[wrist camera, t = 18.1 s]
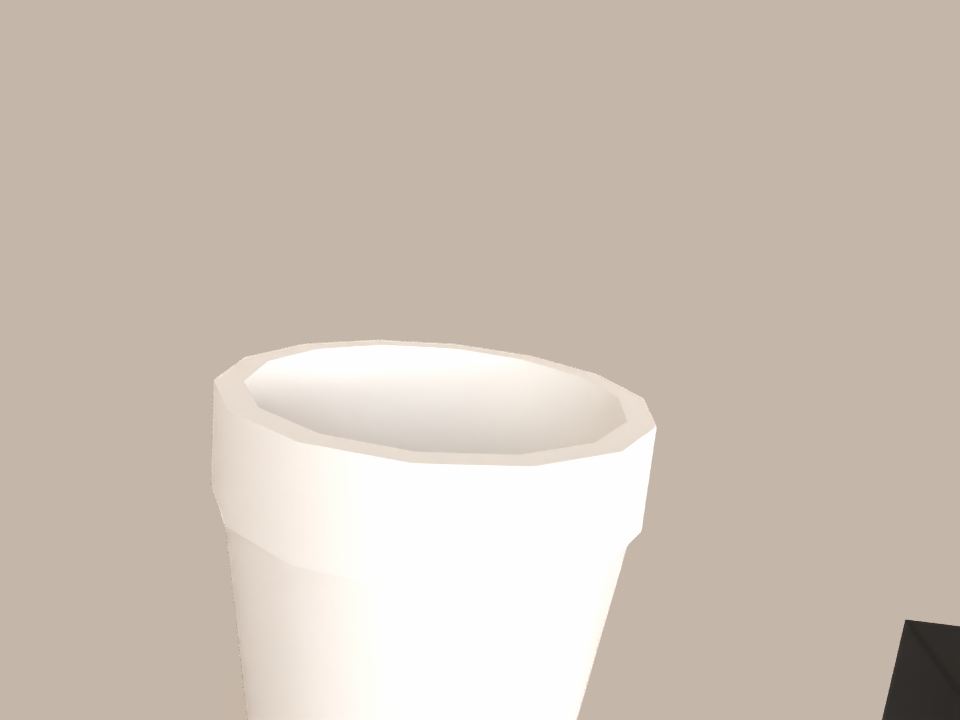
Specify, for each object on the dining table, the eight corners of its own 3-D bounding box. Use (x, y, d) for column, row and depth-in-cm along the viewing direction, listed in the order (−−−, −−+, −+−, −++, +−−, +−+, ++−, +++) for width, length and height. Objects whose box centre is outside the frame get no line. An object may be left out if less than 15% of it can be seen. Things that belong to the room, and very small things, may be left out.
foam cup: (655, 996, 20) (749, 454, 17) (235, 1140, 17) (260, 482, 14) (489, 735, 29) (532, 340, 26) (185, 792, 25) (195, 339, 22)
